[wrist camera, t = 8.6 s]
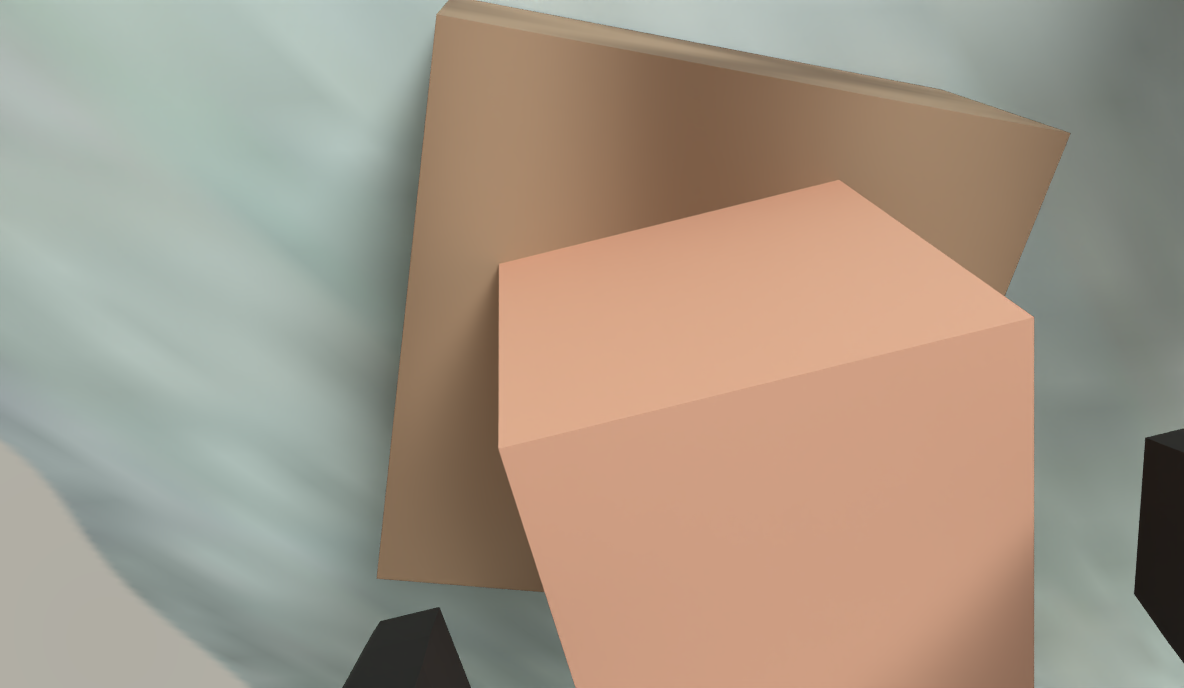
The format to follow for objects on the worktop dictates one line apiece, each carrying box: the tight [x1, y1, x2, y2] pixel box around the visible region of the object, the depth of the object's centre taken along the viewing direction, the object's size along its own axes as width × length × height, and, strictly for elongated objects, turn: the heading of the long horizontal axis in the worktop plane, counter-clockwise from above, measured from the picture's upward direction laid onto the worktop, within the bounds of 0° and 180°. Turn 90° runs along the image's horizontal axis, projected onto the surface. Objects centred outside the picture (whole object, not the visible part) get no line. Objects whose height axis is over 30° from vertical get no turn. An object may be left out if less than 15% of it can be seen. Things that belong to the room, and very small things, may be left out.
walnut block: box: [377, 0, 1070, 592], centre depth 15 cm, size 9×9×4 cm
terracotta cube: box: [498, 180, 1034, 688], centre depth 11 cm, size 5×5×5 cm
